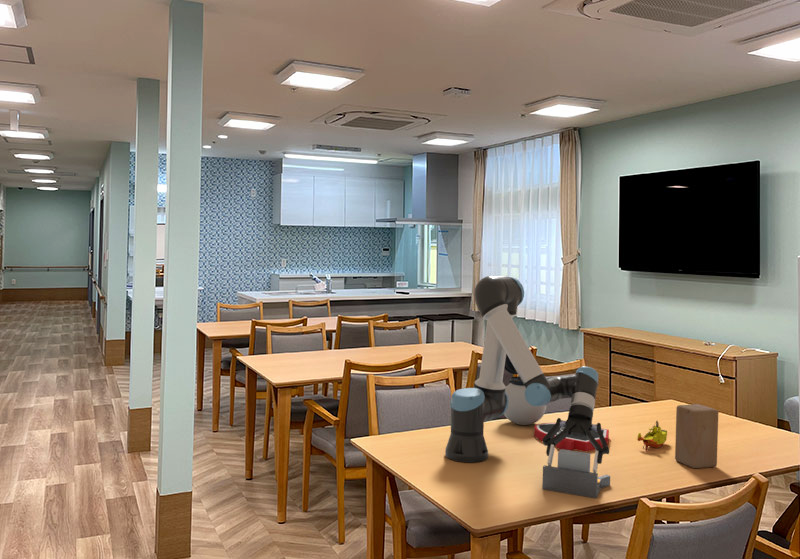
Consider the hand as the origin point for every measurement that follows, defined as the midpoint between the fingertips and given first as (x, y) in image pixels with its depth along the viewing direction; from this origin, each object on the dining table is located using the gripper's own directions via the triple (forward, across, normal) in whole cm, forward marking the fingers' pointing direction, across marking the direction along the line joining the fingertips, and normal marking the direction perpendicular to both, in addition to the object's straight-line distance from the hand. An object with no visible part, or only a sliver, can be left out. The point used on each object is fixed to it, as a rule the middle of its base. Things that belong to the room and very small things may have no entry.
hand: (571, 468), depth 195 cm
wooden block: (-29, -34, -39) cm, 59 cm away
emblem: (-36, +12, -46) cm, 60 cm away
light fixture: (-47, +35, -57) cm, 82 cm away
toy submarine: (-40, -20, -50) cm, 66 cm away
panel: (+3, 0, -6) cm, 7 cm away
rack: (+2, 0, -8) cm, 8 cm away
